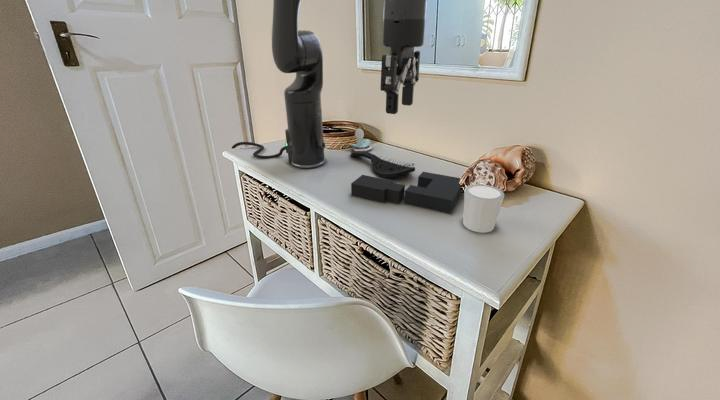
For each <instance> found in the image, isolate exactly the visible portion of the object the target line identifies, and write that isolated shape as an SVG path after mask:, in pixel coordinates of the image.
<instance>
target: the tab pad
mask: <svg viewBox="0 0 720 400" xmlns="http://www.w3.org/2000/svg"><path fill="white" fill-rule="evenodd" d="M405 190H406V184H402V183H396V182H395V181H394V180H391V179H385V178H382V177H375V176H370V175H366V174H361V175H360V176H359V177H358V178H356V179H355V180H354V181H352V182H351V183H350V191H351V192H350V195H351V196H352V197H357V198H361V199H366V200H370V201H373V202H379V203H383V204H384V203H385V202H388V203H393V204H397V205H398V204H400V203H401V201H403V200H404V198H405Z"/></svg>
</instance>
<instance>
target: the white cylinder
mask: <svg viewBox="0 0 720 400" xmlns="http://www.w3.org/2000/svg"><path fill="white" fill-rule="evenodd" d="M505 194H506V193H504V191H503V190H502V189H500V188H498V187H495V186H492V185H489V184H479V183H478V184H477V183H475V184H471V185H468V186H466V187H464V191H463V217H462V223H463V226H464V227H465V228H466V229H467V230H469V231H472V232H475V233H481V234H485V233H491V232H492V231H494V229H495V226H496V224H497V220H498V217H499V215H500V210H501V207H502V205H503V201H504V198H505Z"/></svg>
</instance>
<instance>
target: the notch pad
mask: <svg viewBox="0 0 720 400" xmlns="http://www.w3.org/2000/svg"><path fill="white" fill-rule="evenodd" d="M417 176H418V177H417V185H413V184H410V185H409V186H407V188H405V194H404V198H403V200H404V202H403V203H404V204H406V205H410V206H415V207H420V208H424V209H429V210H433V211H437V212H442V213H446V214H452V212H453V210H454V209H455V207H456V205H457V203H458V202H459V200H460V198H461V196H462V195H463V194H464V191H463V190H462V192H461V187H462V185H460V184H459V183H458V182H459V180H460V178H461V177H457V176H450V175H446V174H439V173H434V172H428V171H422V172H421V173H420V174H419V175H417Z"/></svg>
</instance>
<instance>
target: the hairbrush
mask: <svg viewBox="0 0 720 400" xmlns="http://www.w3.org/2000/svg"><path fill="white" fill-rule="evenodd" d="M350 156H351V157H363V158H366V159H368V160H369V161H370V162H371V166H372V171H373V172H374V173H375V175H376V176H378V177H379V178H393V177H400V176H403V175H406V174H407V175H408V174H410V173H414V172H415V171H416V167H415V165H414V163H409V162H407V163H406V164H405V161H402V162H401V161H400V160H398V161H397V160H394V159H393V161H391V160H392V159H389V160H386V158H387V157H385V158H381V157H382V156H377V155H376V154H374V153H372V152H369V151H351V153H350ZM396 162H397V163H396Z"/></svg>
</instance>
